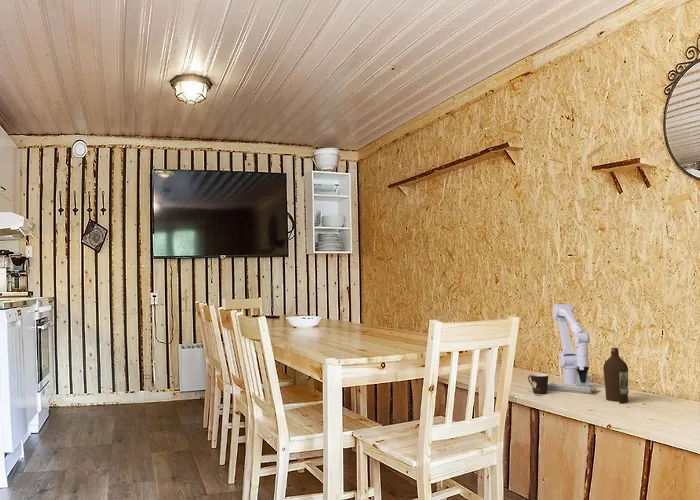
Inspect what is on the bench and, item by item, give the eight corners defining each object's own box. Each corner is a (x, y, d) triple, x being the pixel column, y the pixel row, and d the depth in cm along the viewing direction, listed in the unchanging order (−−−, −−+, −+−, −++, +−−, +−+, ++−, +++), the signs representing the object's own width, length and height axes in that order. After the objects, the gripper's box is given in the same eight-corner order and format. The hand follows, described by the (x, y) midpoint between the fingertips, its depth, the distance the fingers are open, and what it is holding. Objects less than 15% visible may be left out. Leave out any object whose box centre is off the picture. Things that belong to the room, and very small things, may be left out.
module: (577, 384, 296) (576, 373, 296) (589, 385, 293) (589, 374, 293) (576, 386, 292) (576, 375, 292) (589, 387, 289) (588, 375, 290)
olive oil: (600, 401, 266) (597, 348, 267) (613, 397, 272) (610, 346, 273) (621, 405, 257) (618, 350, 258) (634, 401, 263) (631, 348, 264)
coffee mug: (551, 396, 278) (550, 376, 279) (534, 396, 278) (533, 376, 279) (544, 391, 290) (543, 372, 290) (527, 392, 290) (526, 372, 291)
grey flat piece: (552, 386, 298) (551, 382, 298) (596, 390, 285) (595, 386, 285) (546, 389, 291) (546, 384, 291) (591, 394, 278) (591, 389, 278)
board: (549, 387, 300) (548, 386, 300) (600, 392, 284) (600, 390, 284) (542, 391, 291) (542, 389, 291) (595, 396, 276) (595, 394, 276)
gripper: (575, 353, 301) (576, 378, 301) (572, 357, 288) (573, 383, 288) (589, 353, 298) (590, 379, 298) (587, 357, 285) (588, 384, 285)
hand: (583, 381), depth 293 cm, fingers closed on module, 4 cm apart
